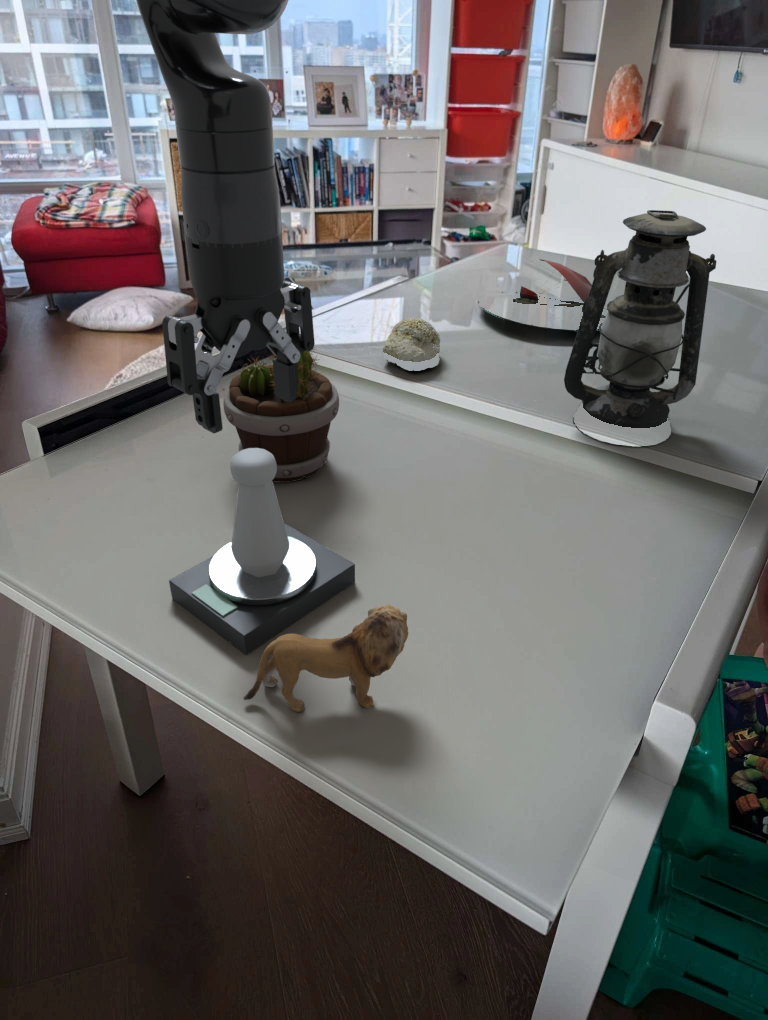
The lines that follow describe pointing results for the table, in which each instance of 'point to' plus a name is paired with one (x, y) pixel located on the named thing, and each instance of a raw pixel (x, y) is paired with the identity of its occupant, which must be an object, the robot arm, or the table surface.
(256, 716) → the table surface
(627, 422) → the lantern
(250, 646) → the scale
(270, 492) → the salt shaker
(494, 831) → the table surface
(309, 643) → the lion figurine
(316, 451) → the flowerpot
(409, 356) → the decorative item
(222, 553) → the scale pan
